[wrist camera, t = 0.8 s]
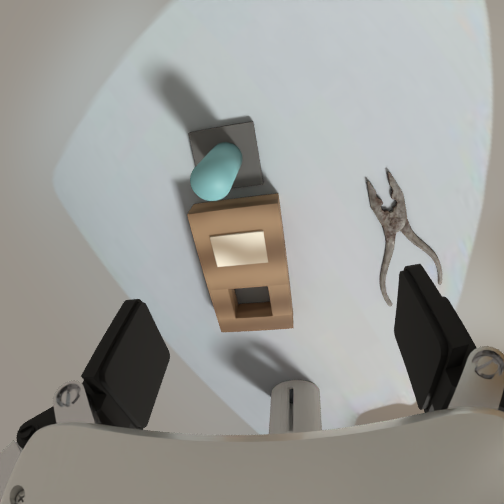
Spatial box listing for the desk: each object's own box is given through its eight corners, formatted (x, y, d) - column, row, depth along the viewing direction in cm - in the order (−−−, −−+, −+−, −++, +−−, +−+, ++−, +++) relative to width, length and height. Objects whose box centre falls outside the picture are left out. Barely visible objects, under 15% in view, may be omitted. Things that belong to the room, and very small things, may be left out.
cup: (291, 409, 58) (290, 460, 48) (261, 391, 55) (256, 447, 45) (328, 393, 54) (332, 448, 44) (299, 373, 51) (300, 433, 41)
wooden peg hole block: (193, 204, 37) (186, 215, 34) (278, 193, 35) (278, 204, 32) (224, 317, 46) (221, 333, 43) (293, 313, 44) (293, 329, 41)
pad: (189, 132, 32) (188, 133, 32) (253, 121, 31) (252, 122, 31) (202, 190, 36) (201, 192, 35) (263, 182, 35) (262, 184, 34)
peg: (206, 145, 32) (186, 164, 25) (239, 139, 32) (227, 157, 25) (213, 176, 34) (195, 203, 27) (245, 171, 33) (235, 198, 27)
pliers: (394, 314, 42) (320, 215, 36) (392, 310, 43) (320, 212, 36) (448, 280, 39) (388, 168, 32) (446, 277, 39) (386, 165, 32)
